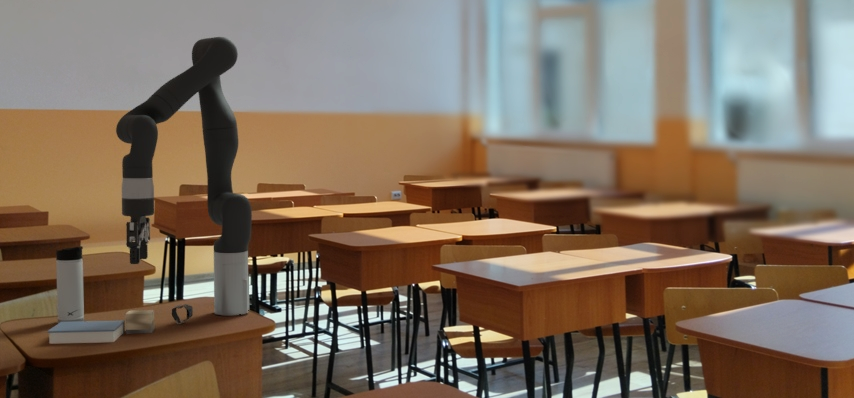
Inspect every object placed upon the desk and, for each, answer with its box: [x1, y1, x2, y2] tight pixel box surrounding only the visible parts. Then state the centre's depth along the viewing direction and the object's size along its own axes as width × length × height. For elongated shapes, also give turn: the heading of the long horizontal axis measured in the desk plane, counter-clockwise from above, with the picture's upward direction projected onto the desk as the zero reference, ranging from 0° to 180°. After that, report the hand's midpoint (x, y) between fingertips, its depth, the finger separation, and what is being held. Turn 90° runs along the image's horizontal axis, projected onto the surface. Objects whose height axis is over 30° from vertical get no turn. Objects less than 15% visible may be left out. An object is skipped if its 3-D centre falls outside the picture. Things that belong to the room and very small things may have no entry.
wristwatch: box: [171, 303, 194, 325], centre depth 209 cm, size 3×5×5 cm, turn 77°
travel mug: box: [55, 245, 85, 324], centre depth 208 cm, size 6×7×20 cm
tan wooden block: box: [125, 309, 156, 335], centre depth 200 cm, size 6×4×5 cm, turn 97°
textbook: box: [46, 319, 126, 345], centre depth 192 cm, size 15×10×4 cm, turn 97°
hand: (139, 261), depth 199 cm, fingers open, 8 cm apart
